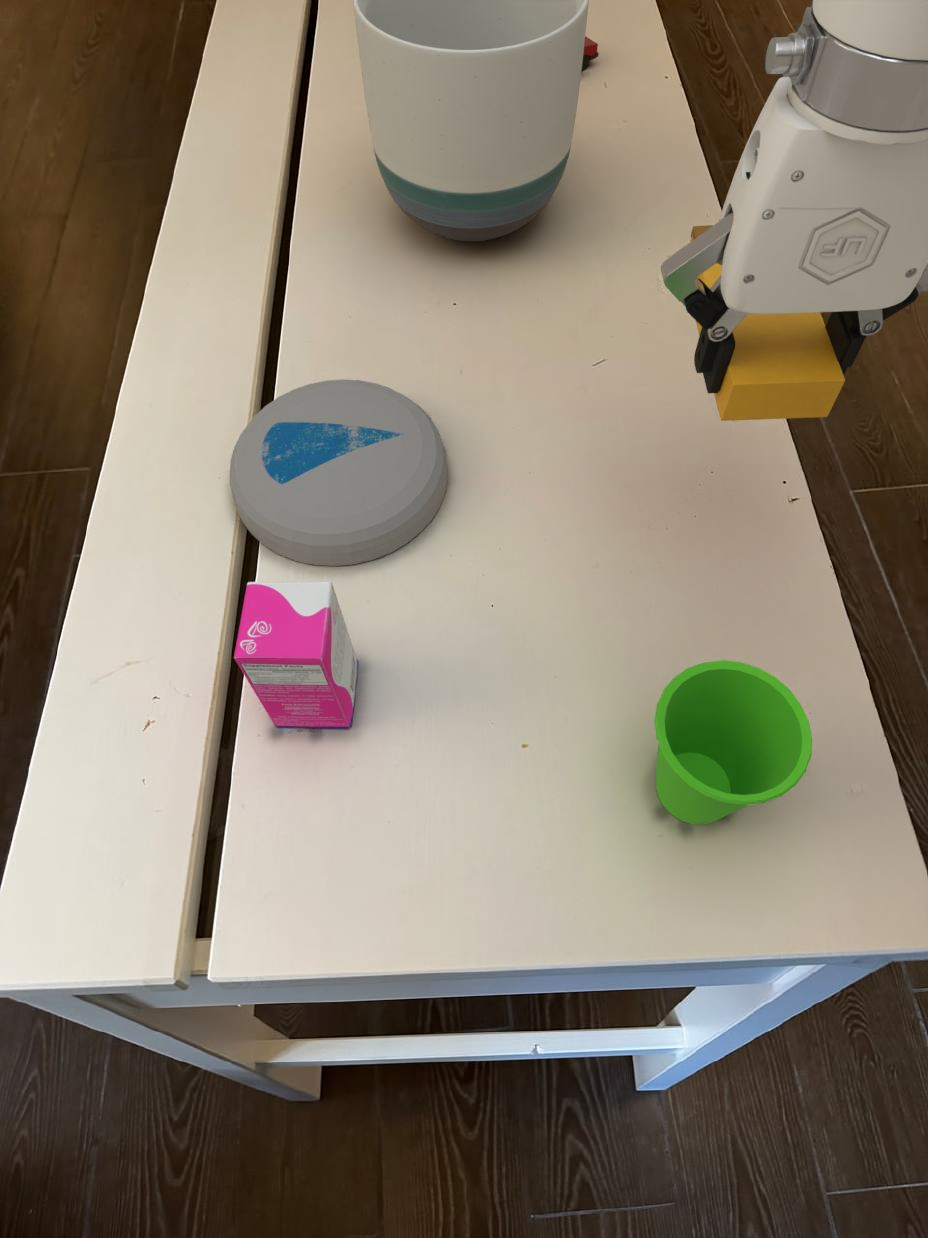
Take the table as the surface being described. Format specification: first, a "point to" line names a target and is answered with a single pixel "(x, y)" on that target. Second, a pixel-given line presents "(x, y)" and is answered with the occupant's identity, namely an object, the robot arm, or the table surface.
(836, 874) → the table surface
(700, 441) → the table surface
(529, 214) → the planter
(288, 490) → the grey frisbee
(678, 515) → the table surface
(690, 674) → the cup
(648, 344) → the table surface
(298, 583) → the supplement box
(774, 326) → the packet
